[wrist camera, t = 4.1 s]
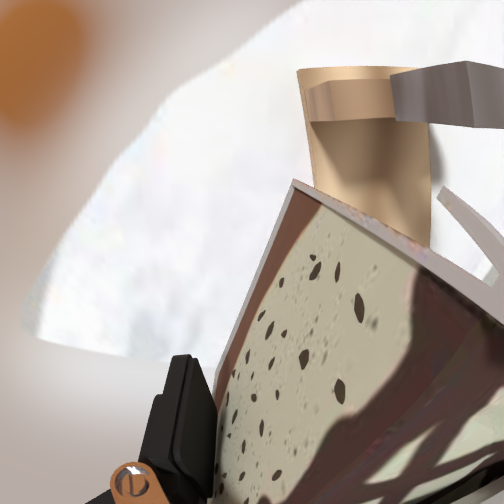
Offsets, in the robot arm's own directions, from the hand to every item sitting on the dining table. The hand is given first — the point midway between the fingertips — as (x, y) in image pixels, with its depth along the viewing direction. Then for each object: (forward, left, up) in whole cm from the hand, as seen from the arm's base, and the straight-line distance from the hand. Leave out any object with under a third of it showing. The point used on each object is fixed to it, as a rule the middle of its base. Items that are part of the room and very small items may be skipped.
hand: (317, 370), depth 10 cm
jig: (-8, 0, -14) cm, 16 cm away
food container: (-1, 0, -3) cm, 4 cm away
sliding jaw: (-8, -8, -12) cm, 17 cm away
